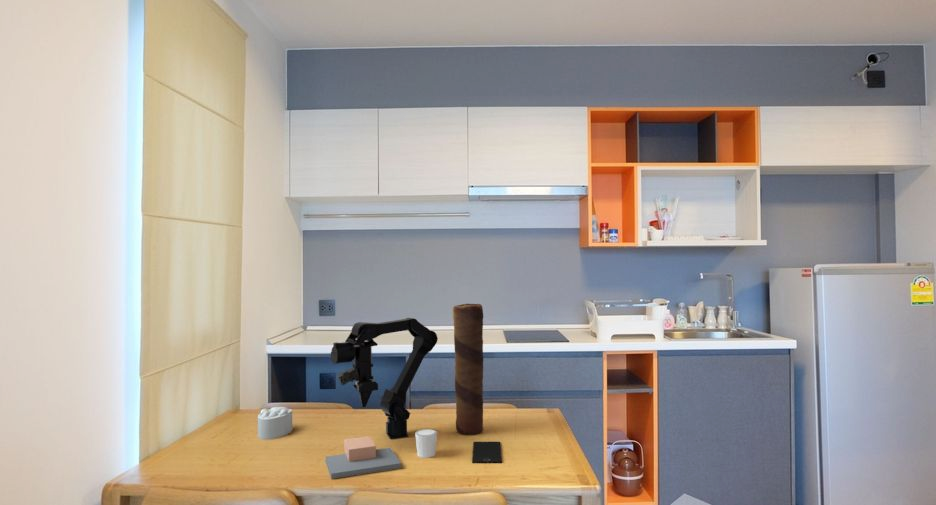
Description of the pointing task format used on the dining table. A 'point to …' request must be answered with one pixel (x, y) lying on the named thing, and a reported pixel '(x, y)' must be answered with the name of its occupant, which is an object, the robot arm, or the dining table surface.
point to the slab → (359, 448)
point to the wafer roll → (468, 367)
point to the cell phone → (486, 452)
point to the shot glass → (426, 442)
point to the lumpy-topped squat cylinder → (274, 423)
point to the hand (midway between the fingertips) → (363, 406)
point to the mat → (362, 464)
